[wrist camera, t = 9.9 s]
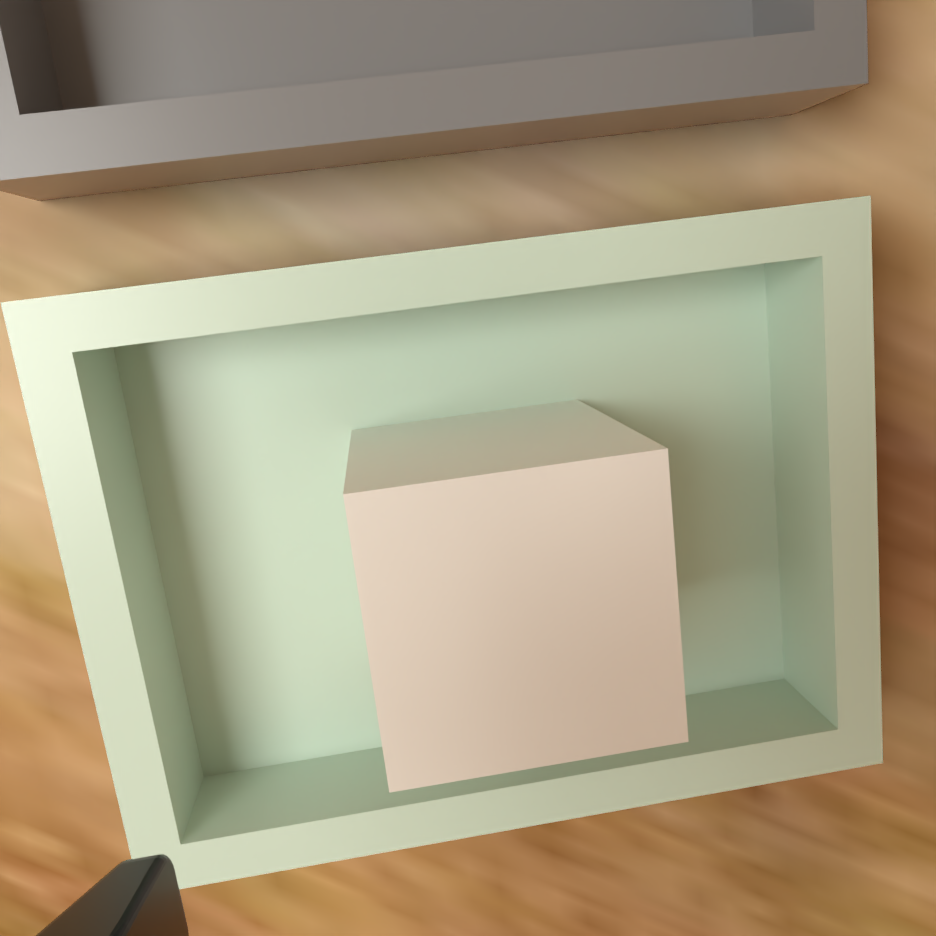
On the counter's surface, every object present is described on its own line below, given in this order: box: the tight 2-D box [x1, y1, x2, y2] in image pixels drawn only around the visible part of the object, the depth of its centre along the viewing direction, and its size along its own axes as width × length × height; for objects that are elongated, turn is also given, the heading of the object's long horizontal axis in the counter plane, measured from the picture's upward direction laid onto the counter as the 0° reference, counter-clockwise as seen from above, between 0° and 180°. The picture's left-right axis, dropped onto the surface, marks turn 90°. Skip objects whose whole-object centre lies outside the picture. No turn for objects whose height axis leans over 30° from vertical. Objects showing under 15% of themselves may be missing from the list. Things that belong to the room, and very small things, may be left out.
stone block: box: [343, 400, 689, 793], centre depth 17 cm, size 5×5×6 cm
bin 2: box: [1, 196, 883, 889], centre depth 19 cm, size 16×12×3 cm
